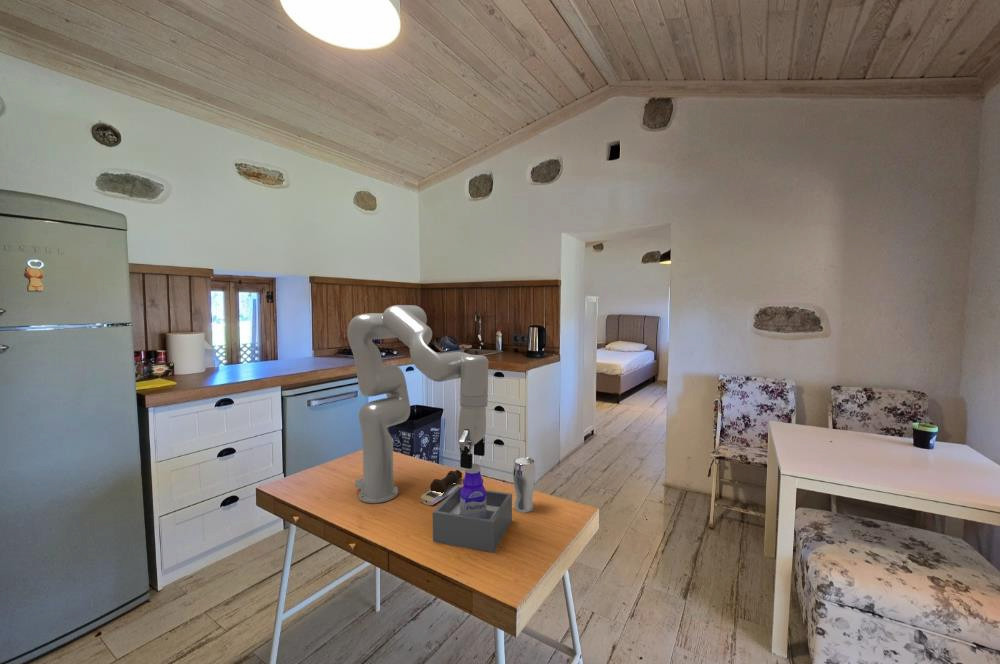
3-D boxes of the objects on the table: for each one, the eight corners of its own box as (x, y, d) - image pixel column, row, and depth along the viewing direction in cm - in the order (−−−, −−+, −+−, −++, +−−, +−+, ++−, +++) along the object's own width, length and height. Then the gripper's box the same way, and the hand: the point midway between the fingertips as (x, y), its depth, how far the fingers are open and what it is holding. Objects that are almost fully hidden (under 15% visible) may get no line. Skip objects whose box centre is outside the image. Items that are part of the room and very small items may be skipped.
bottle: (463, 535, 112) (463, 471, 111) (457, 525, 118) (457, 464, 117) (489, 529, 115) (489, 467, 114) (482, 520, 120) (482, 460, 119)
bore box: (432, 541, 111) (432, 512, 111) (458, 511, 127) (458, 486, 127) (493, 552, 106) (493, 522, 106) (511, 520, 122) (512, 493, 122)
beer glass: (508, 508, 130) (508, 460, 129) (522, 500, 135) (522, 455, 134) (525, 516, 125) (525, 466, 124) (539, 507, 130) (540, 460, 129)
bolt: (460, 484, 152) (438, 500, 138) (450, 475, 153) (427, 490, 140) (467, 471, 150) (446, 486, 137) (457, 463, 152) (434, 476, 138)
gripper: (472, 392, 124) (471, 449, 125) (448, 406, 107) (447, 471, 109) (496, 395, 122) (495, 452, 123) (475, 409, 105) (474, 475, 106)
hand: (472, 461), depth 116 cm, fingers open, 9 cm apart
